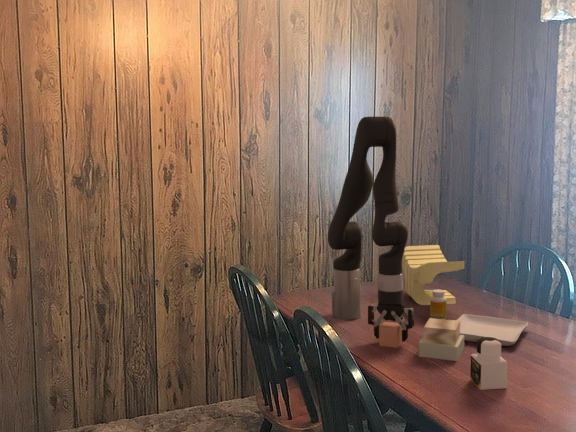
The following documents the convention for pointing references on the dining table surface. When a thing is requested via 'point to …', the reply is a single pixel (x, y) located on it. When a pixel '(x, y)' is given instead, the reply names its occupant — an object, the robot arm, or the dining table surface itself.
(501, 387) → the medicine bottle
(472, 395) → the dining table surface
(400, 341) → the cube
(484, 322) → the salad plate
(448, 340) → the top block
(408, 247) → the slatted curved stool
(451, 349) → the base block
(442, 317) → the supplement bottle
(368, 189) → the robot arm
